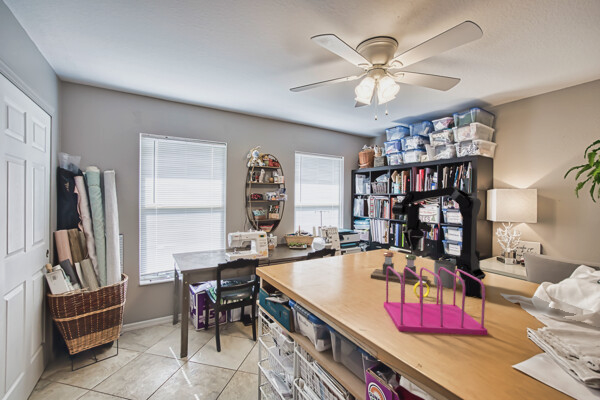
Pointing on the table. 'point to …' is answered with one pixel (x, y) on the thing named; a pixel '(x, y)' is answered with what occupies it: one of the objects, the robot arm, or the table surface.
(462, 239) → the robot arm
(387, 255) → the terracotta plunger
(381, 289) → the table surface
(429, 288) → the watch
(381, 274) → the dark brown stand
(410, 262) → the olive plunger
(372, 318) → the table surface
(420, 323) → the file sorter
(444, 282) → the cup
